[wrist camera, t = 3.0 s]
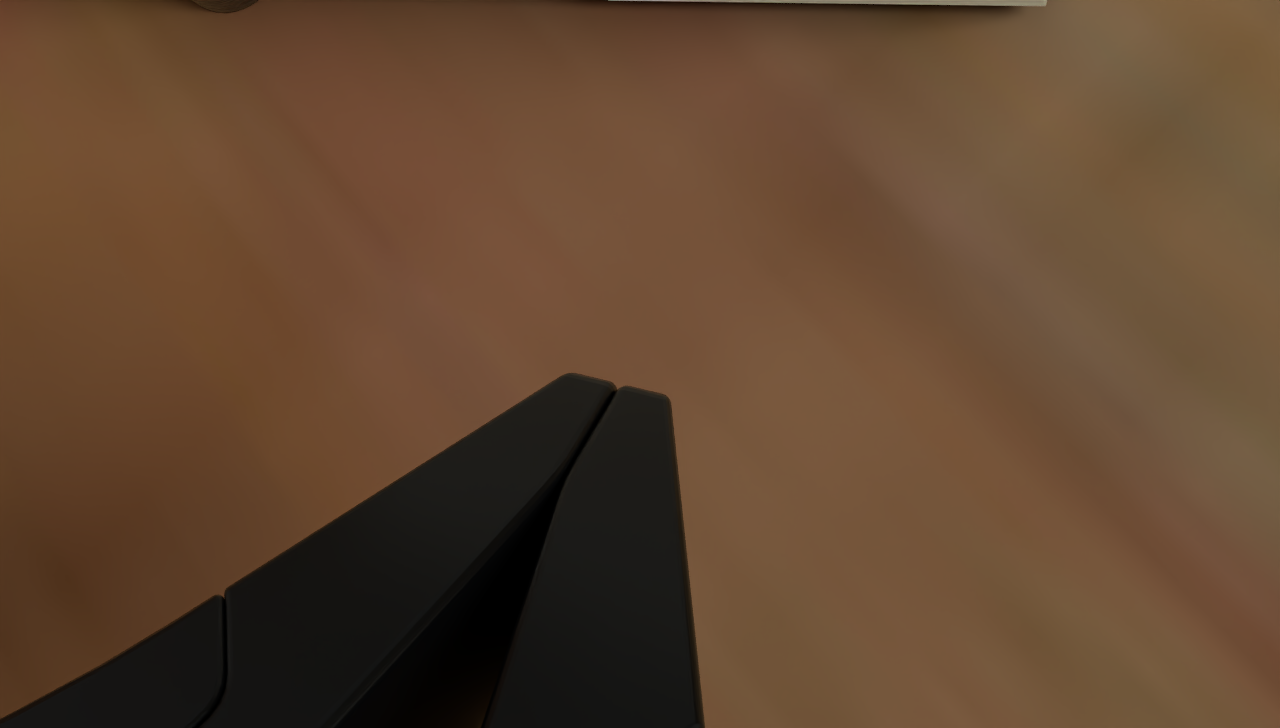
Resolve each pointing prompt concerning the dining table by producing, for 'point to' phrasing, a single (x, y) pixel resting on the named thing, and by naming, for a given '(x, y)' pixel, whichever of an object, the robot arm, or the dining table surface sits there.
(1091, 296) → the dining table surface
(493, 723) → the robot arm
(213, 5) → the hinge post
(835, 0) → the gate
